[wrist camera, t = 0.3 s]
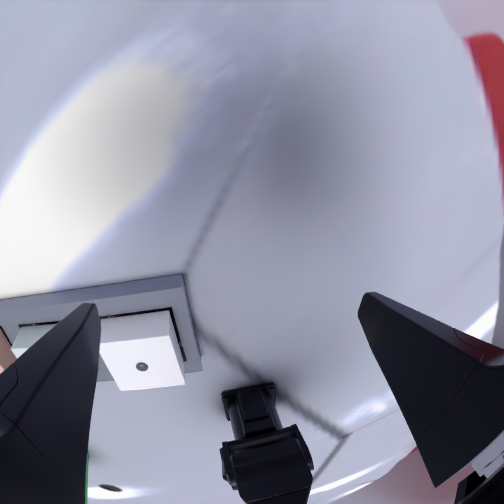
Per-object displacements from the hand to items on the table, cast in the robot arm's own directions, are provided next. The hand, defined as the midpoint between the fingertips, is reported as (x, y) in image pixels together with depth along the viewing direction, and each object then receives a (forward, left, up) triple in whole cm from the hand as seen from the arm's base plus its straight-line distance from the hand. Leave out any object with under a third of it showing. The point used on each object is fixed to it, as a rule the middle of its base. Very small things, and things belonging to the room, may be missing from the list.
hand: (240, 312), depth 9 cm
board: (-12, +16, -14) cm, 24 cm away
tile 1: (-12, +7, -12) cm, 18 cm away
